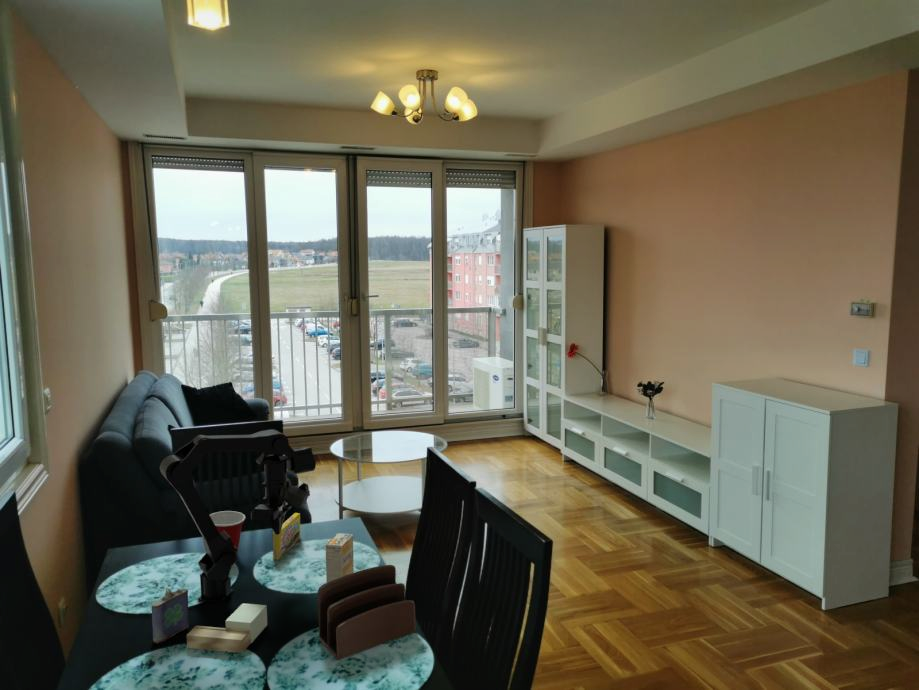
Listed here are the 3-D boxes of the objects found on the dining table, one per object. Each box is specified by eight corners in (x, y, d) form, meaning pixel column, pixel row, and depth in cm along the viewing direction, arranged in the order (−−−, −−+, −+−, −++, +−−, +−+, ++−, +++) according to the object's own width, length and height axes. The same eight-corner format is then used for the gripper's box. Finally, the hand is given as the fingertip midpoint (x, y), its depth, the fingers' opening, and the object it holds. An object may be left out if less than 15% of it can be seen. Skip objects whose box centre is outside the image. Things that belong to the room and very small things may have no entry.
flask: (157, 644, 151) (155, 599, 150) (149, 641, 153) (146, 596, 152) (192, 625, 159) (189, 582, 158) (183, 622, 161) (181, 579, 160)
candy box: (279, 560, 195) (278, 532, 194) (272, 559, 195) (271, 532, 194) (301, 538, 211) (300, 512, 210) (294, 537, 211) (293, 512, 210)
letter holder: (318, 640, 153) (316, 581, 151) (394, 614, 164) (394, 559, 163) (337, 661, 145) (335, 599, 143) (416, 632, 156) (415, 574, 155)
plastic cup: (237, 565, 192) (235, 524, 190) (200, 563, 193) (198, 522, 191) (253, 549, 202) (251, 510, 201) (218, 547, 204) (216, 509, 202)
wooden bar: (187, 647, 150) (186, 634, 150) (197, 638, 154) (196, 625, 154) (242, 653, 148) (241, 639, 148) (250, 643, 152) (250, 629, 151)
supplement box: (343, 595, 174) (342, 546, 172) (326, 593, 175) (324, 544, 173) (354, 580, 182) (353, 533, 181) (338, 578, 183) (336, 532, 181)
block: (226, 641, 153) (225, 620, 152) (243, 623, 161) (242, 603, 160) (251, 644, 152) (250, 622, 151) (267, 625, 160) (266, 605, 159)
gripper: (290, 490, 170) (292, 550, 171) (317, 468, 188) (319, 522, 190) (248, 488, 171) (251, 547, 173) (279, 466, 190) (281, 520, 192)
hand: (277, 534), depth 182 cm, fingers closed
